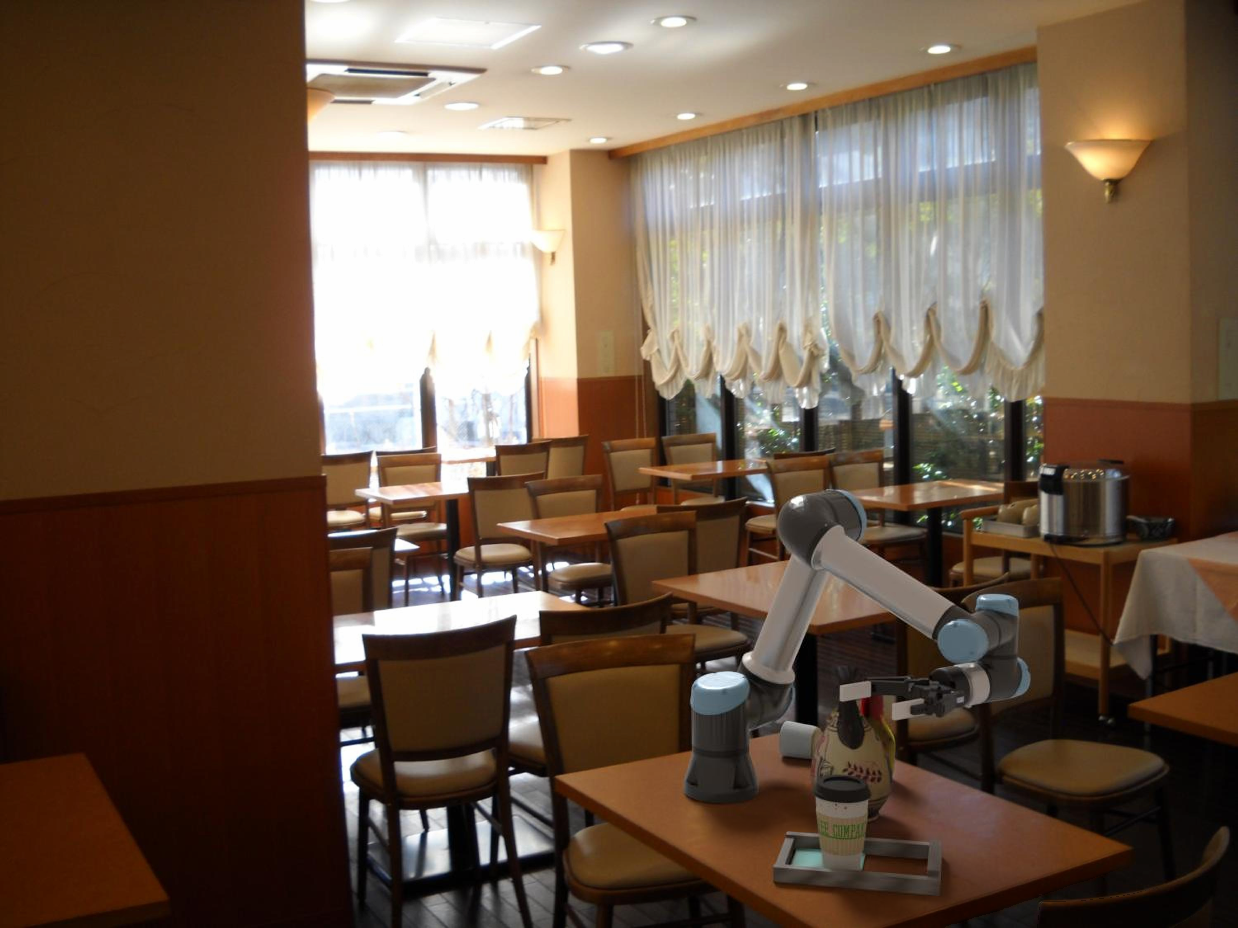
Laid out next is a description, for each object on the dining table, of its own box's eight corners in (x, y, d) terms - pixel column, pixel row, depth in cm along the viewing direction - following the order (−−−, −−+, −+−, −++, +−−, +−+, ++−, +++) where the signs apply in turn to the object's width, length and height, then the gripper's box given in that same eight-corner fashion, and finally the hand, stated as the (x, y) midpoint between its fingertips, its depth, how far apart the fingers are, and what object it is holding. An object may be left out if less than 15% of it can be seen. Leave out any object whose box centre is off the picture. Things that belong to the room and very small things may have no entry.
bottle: (902, 779, 268) (902, 684, 266) (881, 785, 264) (881, 689, 262) (859, 765, 277) (859, 674, 276) (839, 771, 274) (838, 678, 272)
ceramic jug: (813, 801, 255) (811, 651, 253) (892, 805, 252) (892, 653, 250) (807, 831, 239) (806, 672, 237) (893, 836, 236) (892, 674, 233)
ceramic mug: (814, 763, 279) (814, 728, 279) (778, 759, 283) (778, 724, 282) (828, 751, 289) (828, 717, 288) (793, 747, 292) (793, 713, 292)
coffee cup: (806, 875, 217) (806, 787, 216) (819, 854, 226) (819, 770, 225) (865, 883, 213) (865, 794, 212) (875, 861, 223) (876, 776, 221)
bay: (773, 881, 216) (773, 860, 216) (787, 844, 232) (786, 825, 232) (939, 895, 209) (939, 874, 209) (941, 856, 225) (941, 837, 225)
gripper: (1008, 723, 223) (916, 742, 213) (909, 691, 245) (820, 706, 234) (1010, 681, 223) (917, 697, 212) (909, 652, 244) (821, 666, 234)
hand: (866, 702), depth 223 cm, fingers open, 13 cm apart
